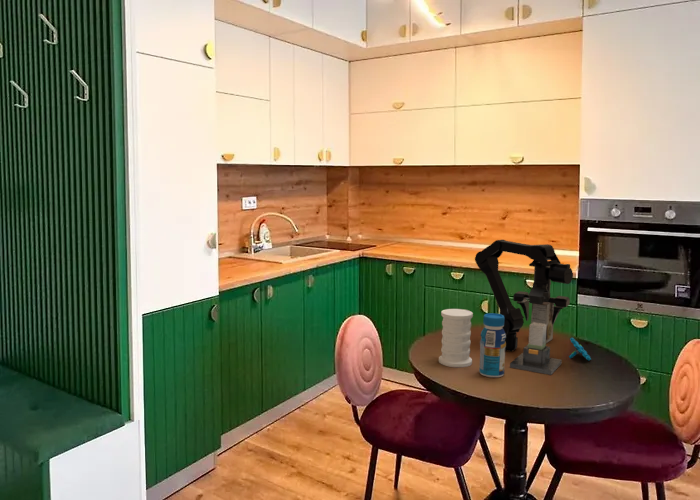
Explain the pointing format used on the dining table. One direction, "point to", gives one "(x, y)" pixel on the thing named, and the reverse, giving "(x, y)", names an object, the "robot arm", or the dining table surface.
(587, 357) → the blue angular plastic piece
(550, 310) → the coffee box
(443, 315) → the decorative container
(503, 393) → the dining table surface
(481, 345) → the beverage bottle
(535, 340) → the block
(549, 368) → the stand
